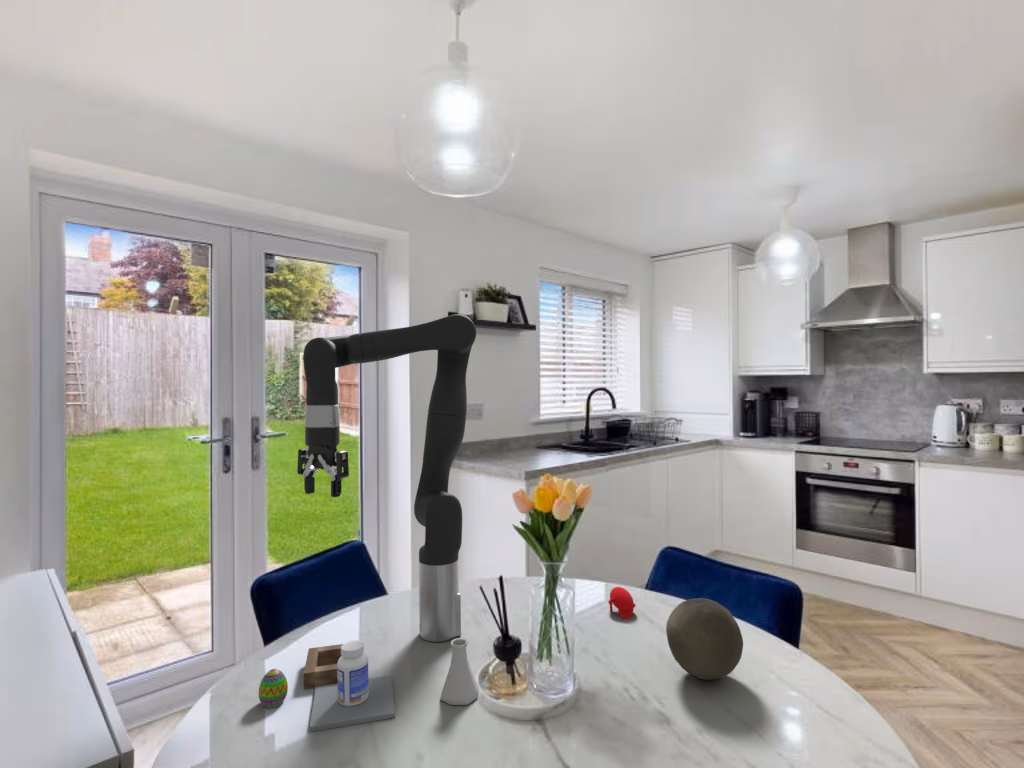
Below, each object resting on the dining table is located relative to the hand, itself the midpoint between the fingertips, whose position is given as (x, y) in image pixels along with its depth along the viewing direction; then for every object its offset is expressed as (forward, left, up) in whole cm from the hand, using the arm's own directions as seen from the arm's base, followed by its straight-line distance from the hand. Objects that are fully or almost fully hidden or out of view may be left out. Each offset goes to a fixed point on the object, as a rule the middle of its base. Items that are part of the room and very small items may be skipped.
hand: (322, 495), depth 125 cm
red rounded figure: (-72, +7, -33) cm, 80 cm away
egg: (+7, +24, -33) cm, 42 cm away
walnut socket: (-3, +16, -33) cm, 37 cm away
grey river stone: (-73, +40, -33) cm, 90 cm away
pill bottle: (-7, +29, -32) cm, 44 cm away
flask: (-26, +32, -33) cm, 53 cm away
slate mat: (-7, +29, -33) cm, 44 cm away
